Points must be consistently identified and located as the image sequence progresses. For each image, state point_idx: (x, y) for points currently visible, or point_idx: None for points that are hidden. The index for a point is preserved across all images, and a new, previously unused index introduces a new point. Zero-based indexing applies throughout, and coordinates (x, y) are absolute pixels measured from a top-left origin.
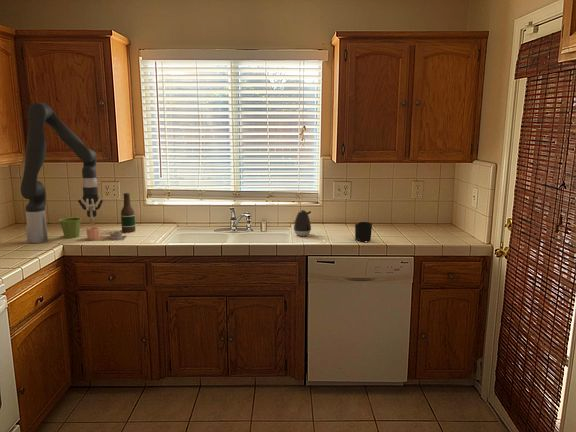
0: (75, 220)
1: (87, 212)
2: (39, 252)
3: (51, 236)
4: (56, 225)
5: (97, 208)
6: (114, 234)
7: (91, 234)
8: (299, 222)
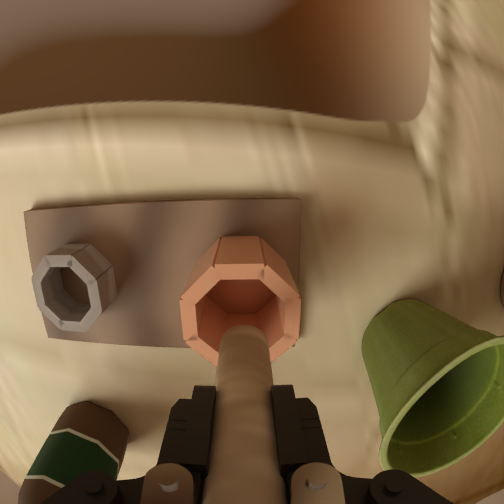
0: (433, 378)
1: (316, 444)
2: (468, 20)
3: None
4: (443, 496)
5: (93, 485)
6: (60, 254)
7: (243, 248)
8: None
